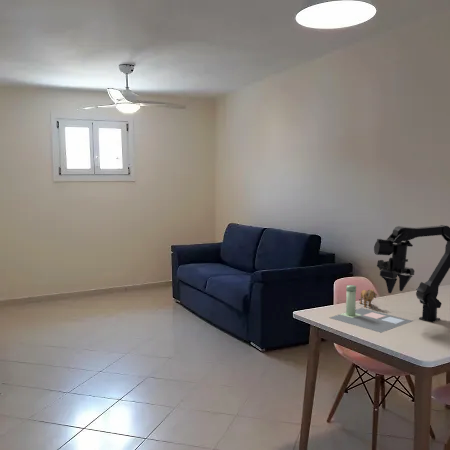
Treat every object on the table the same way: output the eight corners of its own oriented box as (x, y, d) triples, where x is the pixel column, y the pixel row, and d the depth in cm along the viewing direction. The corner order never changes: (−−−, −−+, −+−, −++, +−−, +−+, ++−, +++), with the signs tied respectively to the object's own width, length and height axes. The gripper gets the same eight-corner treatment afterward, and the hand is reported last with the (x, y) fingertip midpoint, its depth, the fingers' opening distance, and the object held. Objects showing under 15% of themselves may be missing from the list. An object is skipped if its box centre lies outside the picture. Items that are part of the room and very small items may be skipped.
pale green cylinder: (351, 312, 214) (352, 284, 212) (357, 315, 210) (358, 286, 209) (344, 313, 212) (344, 285, 211) (349, 316, 208) (350, 287, 207)
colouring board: (361, 308, 222) (361, 307, 222) (413, 321, 202) (413, 320, 202) (328, 318, 207) (328, 317, 207) (381, 333, 187) (381, 332, 187)
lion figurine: (378, 308, 221) (378, 290, 221) (367, 309, 221) (368, 290, 220) (364, 300, 236) (364, 283, 235) (353, 301, 235) (354, 283, 234)
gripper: (393, 252, 213) (389, 285, 215) (370, 254, 201) (366, 290, 202) (416, 256, 205) (412, 291, 206) (394, 258, 192) (390, 296, 194)
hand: (395, 292), depth 202 cm, fingers open, 9 cm apart
